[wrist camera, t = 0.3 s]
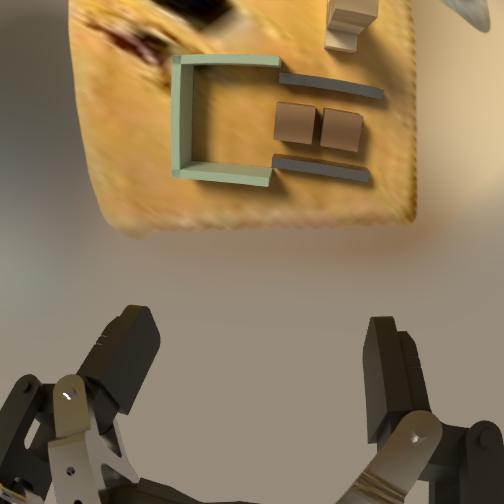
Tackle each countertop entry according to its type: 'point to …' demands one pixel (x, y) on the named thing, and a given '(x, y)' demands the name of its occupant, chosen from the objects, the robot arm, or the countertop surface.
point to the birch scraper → (347, 22)
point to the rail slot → (322, 165)
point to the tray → (183, 121)
